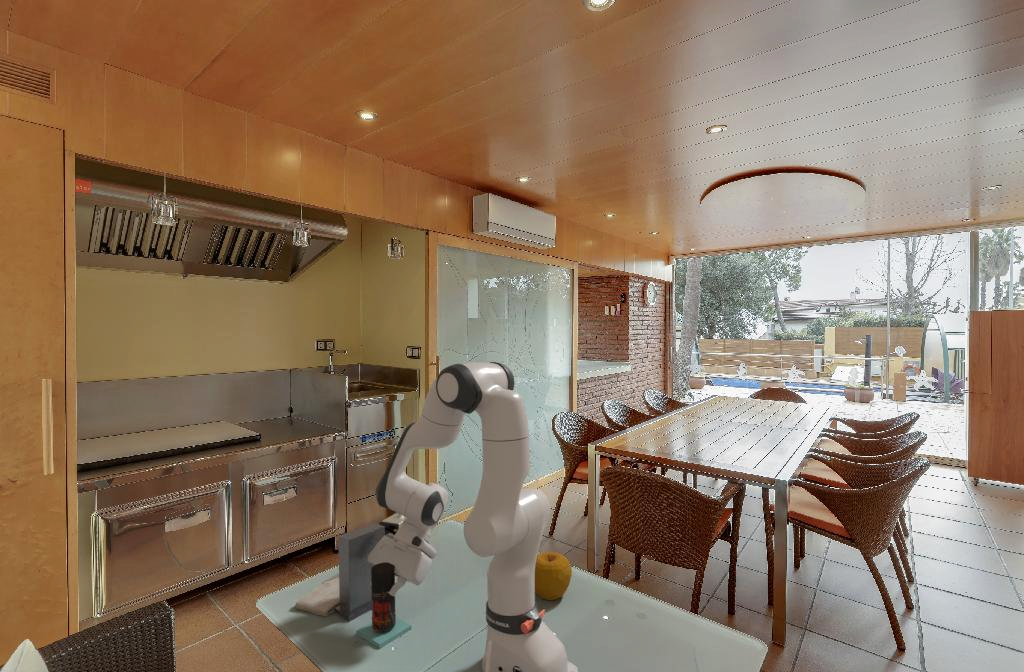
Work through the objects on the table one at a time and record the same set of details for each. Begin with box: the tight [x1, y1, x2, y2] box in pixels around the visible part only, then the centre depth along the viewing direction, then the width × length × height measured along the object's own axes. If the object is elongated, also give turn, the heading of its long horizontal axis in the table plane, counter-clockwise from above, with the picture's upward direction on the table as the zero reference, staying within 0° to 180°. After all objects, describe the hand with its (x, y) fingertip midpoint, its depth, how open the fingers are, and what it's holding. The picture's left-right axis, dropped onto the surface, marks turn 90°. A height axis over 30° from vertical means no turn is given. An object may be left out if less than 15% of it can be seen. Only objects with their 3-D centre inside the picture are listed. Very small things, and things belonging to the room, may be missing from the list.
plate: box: [355, 616, 413, 649], centre depth 126 cm, size 10×10×1 cm
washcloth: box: [294, 575, 340, 617], centre depth 143 cm, size 12×18×3 cm, turn 158°
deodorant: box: [371, 562, 397, 632], centre depth 126 cm, size 6×6×15 cm
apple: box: [535, 551, 573, 601], centre depth 142 cm, size 13×13×11 cm
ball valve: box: [379, 512, 407, 535], centre depth 164 cm, size 18×8×18 cm, turn 157°
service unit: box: [334, 522, 385, 623], centre depth 138 cm, size 7×14×22 cm, turn 142°
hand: (381, 590), depth 125 cm, fingers closed on deodorant, 6 cm apart
